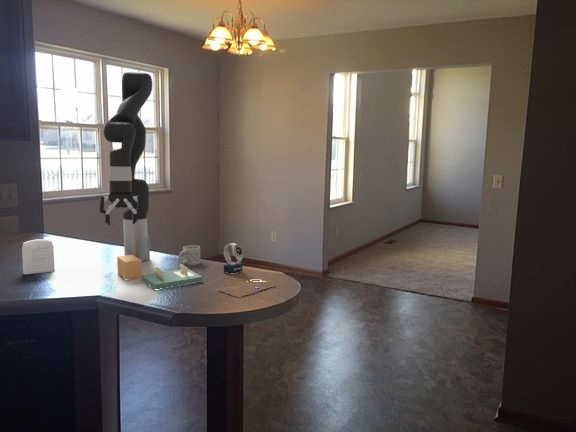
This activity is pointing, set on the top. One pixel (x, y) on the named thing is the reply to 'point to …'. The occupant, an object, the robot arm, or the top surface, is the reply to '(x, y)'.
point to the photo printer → (38, 256)
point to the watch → (238, 253)
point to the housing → (129, 266)
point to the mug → (190, 255)
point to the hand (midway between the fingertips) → (121, 224)
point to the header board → (171, 277)
